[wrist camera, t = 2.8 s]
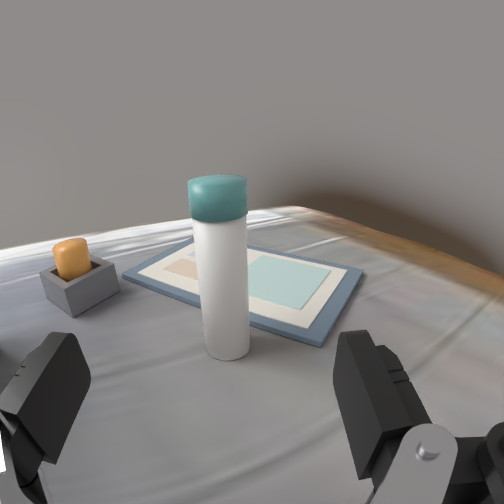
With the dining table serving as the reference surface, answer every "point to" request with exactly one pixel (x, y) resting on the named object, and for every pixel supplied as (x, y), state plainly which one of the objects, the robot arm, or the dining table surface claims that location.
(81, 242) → the button
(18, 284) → the dining table surface
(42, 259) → the dining table surface
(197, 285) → the placemat
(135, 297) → the dining table surface
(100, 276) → the button housing
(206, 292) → the marker
